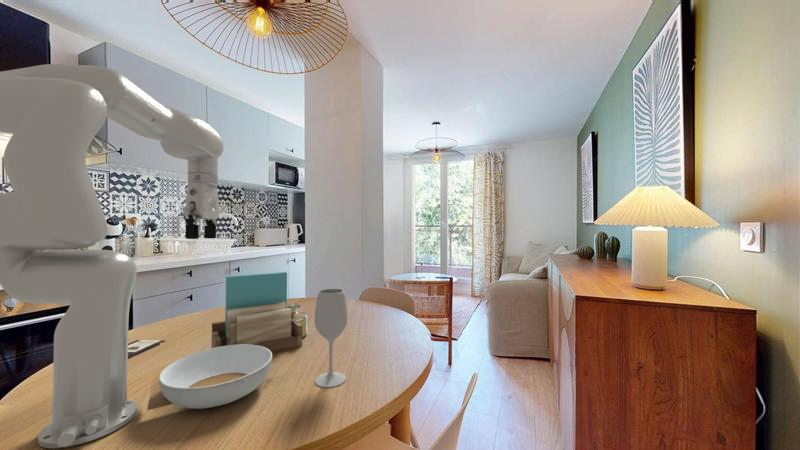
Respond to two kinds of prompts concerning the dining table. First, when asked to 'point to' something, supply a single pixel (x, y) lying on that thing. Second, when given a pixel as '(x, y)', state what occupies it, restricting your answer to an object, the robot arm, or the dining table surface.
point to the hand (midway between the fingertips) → (201, 238)
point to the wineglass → (330, 329)
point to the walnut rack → (273, 346)
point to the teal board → (255, 290)
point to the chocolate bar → (141, 346)
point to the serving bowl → (212, 364)
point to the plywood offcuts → (258, 324)
